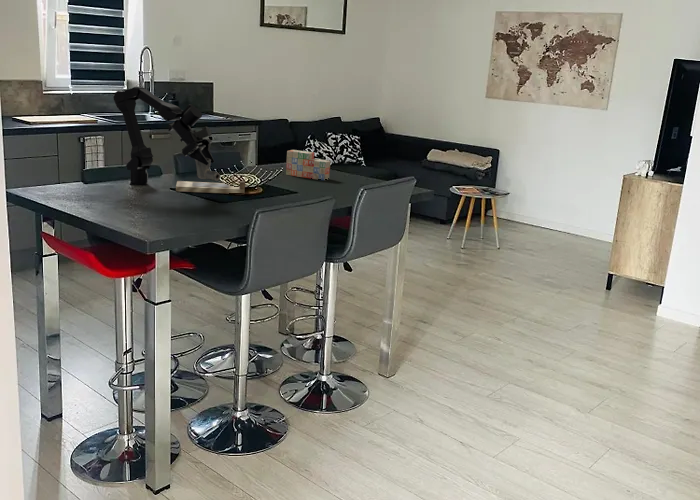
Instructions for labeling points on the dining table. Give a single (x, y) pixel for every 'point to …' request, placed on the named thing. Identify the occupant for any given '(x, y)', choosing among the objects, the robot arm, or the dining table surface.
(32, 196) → the dining table surface
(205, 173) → the pipe
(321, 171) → the stack of blocks
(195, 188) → the roller board
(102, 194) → the dining table surface
